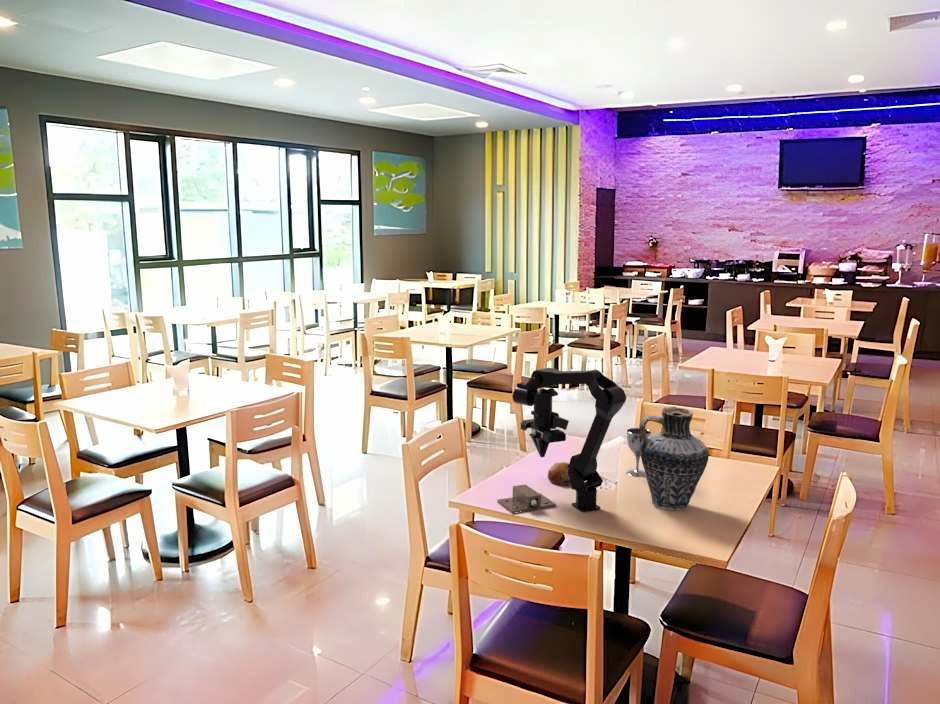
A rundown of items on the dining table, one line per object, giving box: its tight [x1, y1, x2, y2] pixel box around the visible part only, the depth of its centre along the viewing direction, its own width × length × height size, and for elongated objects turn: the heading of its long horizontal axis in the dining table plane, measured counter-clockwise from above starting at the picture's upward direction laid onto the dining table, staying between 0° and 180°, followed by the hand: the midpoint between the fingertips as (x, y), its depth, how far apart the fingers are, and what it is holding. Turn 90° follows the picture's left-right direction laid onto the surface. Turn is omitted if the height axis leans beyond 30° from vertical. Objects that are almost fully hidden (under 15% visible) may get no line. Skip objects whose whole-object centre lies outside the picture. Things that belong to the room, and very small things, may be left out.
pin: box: [530, 499, 538, 507], centre depth 230 cm, size 12×3×3 cm, turn 24°
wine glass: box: [626, 427, 652, 478], centre depth 258 cm, size 8×8×15 cm
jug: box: [639, 406, 710, 511], centre depth 227 cm, size 21×19×30 cm
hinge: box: [496, 484, 557, 514], centre depth 230 cm, size 10×15×4 cm
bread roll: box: [547, 461, 571, 486], centre depth 252 cm, size 10×10×8 cm
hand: (542, 456), depth 238 cm, fingers closed
